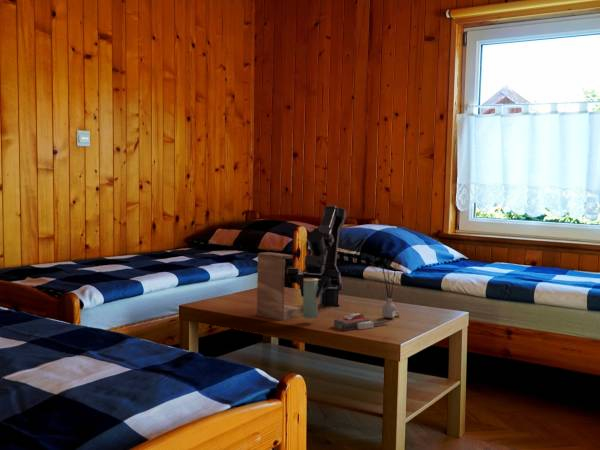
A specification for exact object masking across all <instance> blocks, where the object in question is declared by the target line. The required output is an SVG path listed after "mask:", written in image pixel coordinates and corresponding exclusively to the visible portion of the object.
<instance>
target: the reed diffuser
mask: <svg viewBox="0 0 600 450" xmlns="http://www.w3.org/2000/svg"><path fill="white" fill-rule="evenodd" d="M381 268H382V273H383V277H384V278H383V279H384V283H385V289H386V295H387V296H386V302H385V303H384V304H383V305H382V317H383V318H387V319H388V318H391V319H392V318H396V317H398V316H399V317H401V313H400V311H399V310H396V309H397V308H396V305H395V304H394V303H393V297H392V296H393V288H394V282H395V278H396V277H395V276H396V269H397V264H395V266H394V272H393V280H392V287H390V286H391V285H390V283H388V284H387V281H388V282H390V275H389V272H387V279H388V280H386V275H385V269H384V265H383V264H382V263H381ZM386 269H387V271H389V265H388V263H386ZM395 316H396V317H395Z"/></svg>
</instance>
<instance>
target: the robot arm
mask: <svg viewBox="0 0 600 450" xmlns="http://www.w3.org/2000/svg"><path fill="white" fill-rule="evenodd" d="M322 216H323V217H322V218H321V221H320V225H319V227H316V228H315V227H314V229H313V230H310V231H309V232H308V233H307V234H306V240H307V243H308V244H307V245H308V248H309V251H310V252H311V253H310V255H309V254H306V255H305V256H304V266H305V267H304V270H305V271H306V272H305V271H303V270H300V269H299V267H288V269H287V270H286V272H285V273H286V277H287V281H288V283H291V284H296V285H297V286H299V289H300V295H301V297H302V298H303V285H304V280H303V279H304V278H317V279H318V291H317V298H318V299H319V304H320V305H321V306H323V307H339V306H340V305H341V304H339V292H341V291H342V290H343V280H342V276H341V272H340V270H339V269H338V266H337V259H338V252H339V251H338V248H339V242H340V241H339V240H340V230H341V229H342V227H343V226H344V225H345V220H346V219H347V210H346V209H344V208H343V207H339V206H336V205H325V206H324V208H323V214H322Z"/></svg>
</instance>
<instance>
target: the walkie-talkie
mask: <svg viewBox="0 0 600 450" xmlns="http://www.w3.org/2000/svg"><path fill="white" fill-rule="evenodd" d="M386 323H389V320H387V319H385V320H379V321H371V320H370V318H369V317H365V316H364V314H363V313H359V312H356V313H350V314H349V315H348V316H347V315H344V316H343V318H337V319H334V320H333V328H335V329H339V330H342V331H351V330H367V329H373V327H374V328H375V326H379V325H383V324H386Z"/></svg>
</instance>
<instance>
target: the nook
mask: <svg viewBox="0 0 600 450" xmlns="http://www.w3.org/2000/svg"><path fill="white" fill-rule="evenodd" d="M293 258H294V255H292V254H285V253H279V252H271V251H266V252H258V253H257V281H256V282H257V283H256V284H257V286H256V289H257V291H256V294H257V295H256V316H260V317H264V318H268V319H273V320H278V321H284V320H290V319H294V318H298V317H303V307H300V306H295V305H290V304H286V303H285V279H286V277H285V273H286V272H285V271H286V270H285V268H286V260H288V259H293Z"/></svg>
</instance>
